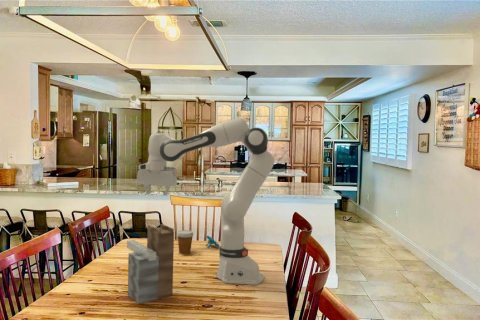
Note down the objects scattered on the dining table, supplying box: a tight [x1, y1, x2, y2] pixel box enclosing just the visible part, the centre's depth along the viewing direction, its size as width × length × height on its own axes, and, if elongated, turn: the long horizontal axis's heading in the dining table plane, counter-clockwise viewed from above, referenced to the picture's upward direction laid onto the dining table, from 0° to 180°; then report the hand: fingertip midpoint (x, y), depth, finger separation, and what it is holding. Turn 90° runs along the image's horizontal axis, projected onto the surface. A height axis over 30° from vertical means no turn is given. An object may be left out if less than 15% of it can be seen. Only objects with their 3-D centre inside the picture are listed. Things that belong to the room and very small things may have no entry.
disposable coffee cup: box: [176, 229, 194, 255], centre depth 210 cm, size 10×10×12 cm
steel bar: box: [126, 239, 156, 261], centre depth 149 cm, size 22×3×3 cm, turn 38°
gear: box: [205, 235, 220, 249], centre depth 223 cm, size 11×6×10 cm
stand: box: [127, 223, 175, 305], centre depth 149 cm, size 11×14×28 cm
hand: (156, 194), depth 178 cm, fingers open, 8 cm apart
